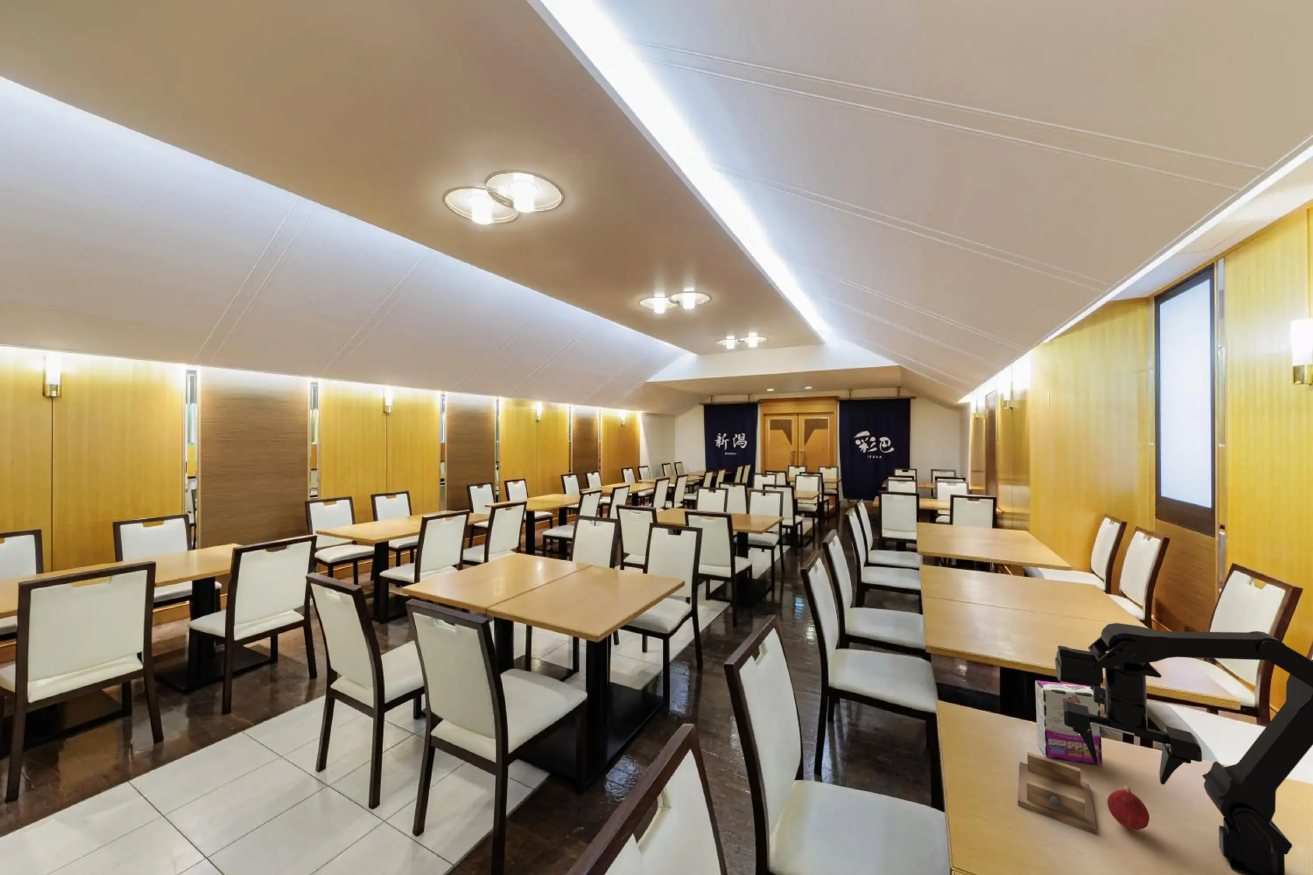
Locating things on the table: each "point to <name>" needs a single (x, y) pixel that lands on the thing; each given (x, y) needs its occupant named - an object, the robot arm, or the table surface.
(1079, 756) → the candy bar box
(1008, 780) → the table surface
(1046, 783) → the cup
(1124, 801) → the onion
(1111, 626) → the robot arm
